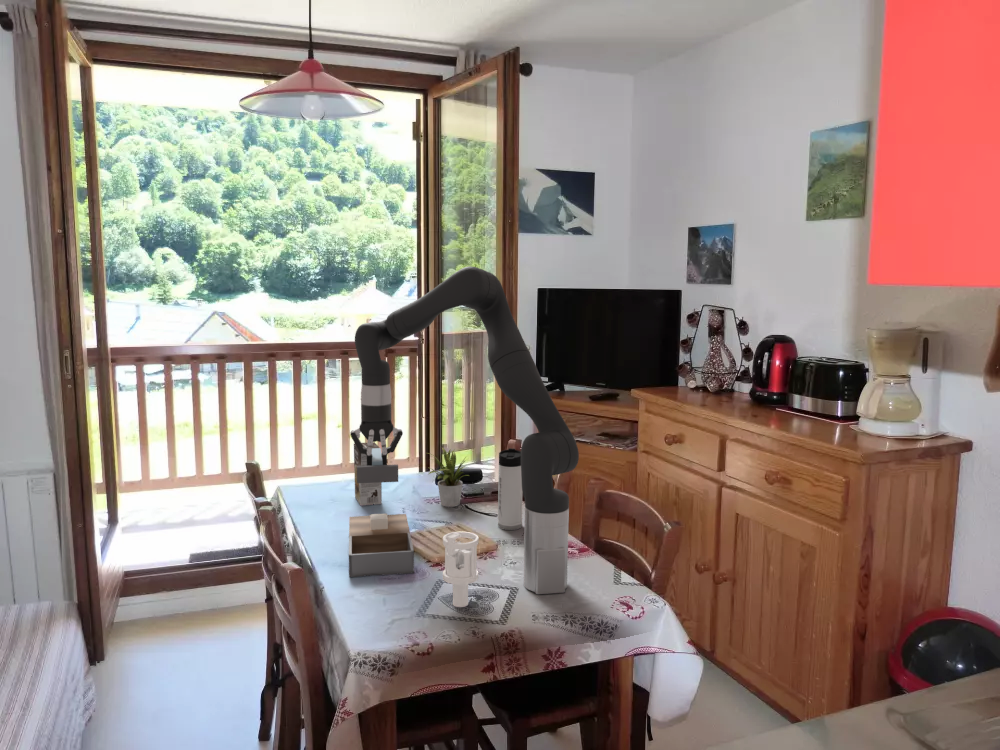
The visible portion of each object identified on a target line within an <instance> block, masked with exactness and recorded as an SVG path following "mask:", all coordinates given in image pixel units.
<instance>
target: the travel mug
mask: <svg viewBox="0 0 1000 750" xmlns="http://www.w3.org/2000/svg"><path fill="white" fill-rule="evenodd" d="M497 480H498V481H497V482H498V483H497V484H498V485H497V486H498V492H497V493H498V494H497V496H498V498H497V499H498V500H497V501H498V503H497V506H498V507H497V511H498V513H497V526H498V528H499V529H501V530H504V529H505V531H515V530H519V529H521V528H522V527H523V491H522V478H521V450H517V449H516V448H508V449H504V450H501V451H499V452H498V479H497Z"/></svg>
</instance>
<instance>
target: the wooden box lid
mask: <svg viewBox="0 0 1000 750" xmlns="http://www.w3.org/2000/svg"><path fill="white" fill-rule="evenodd" d="M387 517H388V529H378V530H371V526H370V515H359V516H357V515H356V516H349V518H348V519H349V523H348V525H349V527H348V531H349V532H348V535H349V536H352V554H362V553H379V552H396V551H408V540H407V533H410V534H411V531H410V527H409V522H408V517H407V513H403V514H402V513H399V514H387ZM349 536H348V537H349Z"/></svg>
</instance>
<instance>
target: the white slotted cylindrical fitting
mask: <svg viewBox="0 0 1000 750" xmlns="http://www.w3.org/2000/svg"><path fill="white" fill-rule="evenodd" d="M459 538H465V539H471V541H468V542H462V541H456V540H457V539H459ZM442 545H443V546H444V570H443V571H442V580H443V581H444V582H445V583H447V584H451V585H452V605H453V606H454V607H456V608H464V607H467V606H468V605H469V584H473V583H476V582H477V581H478V579H479V571H478V569H477V564H478V562H477V560H478V559H477V552H478V551H477V549H478V548H477V546H478V545H479V535H478V534H476V533H474V532H469V531H462V530H461V531H452V532H448V533H445V534H444V535H443V536H442Z"/></svg>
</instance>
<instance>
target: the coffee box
mask: <svg viewBox="0 0 1000 750" xmlns="http://www.w3.org/2000/svg"><path fill="white" fill-rule="evenodd" d="M361 443H362V445H363V447H364V448H367V442H361ZM372 448H380V446H379V445H378V444H377V443H376V442H373V446H372ZM353 461H354V462H353V464H354V465H353V466H354V469H353V470H354V471H353V472H354V496H355V499H356V501H357V503H358V504H359V506H360V507H362V506H364V507H365V506H374V505H381V504H383V503H382V502H383V501H382V499H383V497H382V496H383V495H382V493H383V492H382V489H383V487H382V483H383V482H380V483H357V466H367V456H366V454H363V453H360V452H359V450H358V448H357V446H356V445H355V443H353ZM373 504H374V505H373Z"/></svg>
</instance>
